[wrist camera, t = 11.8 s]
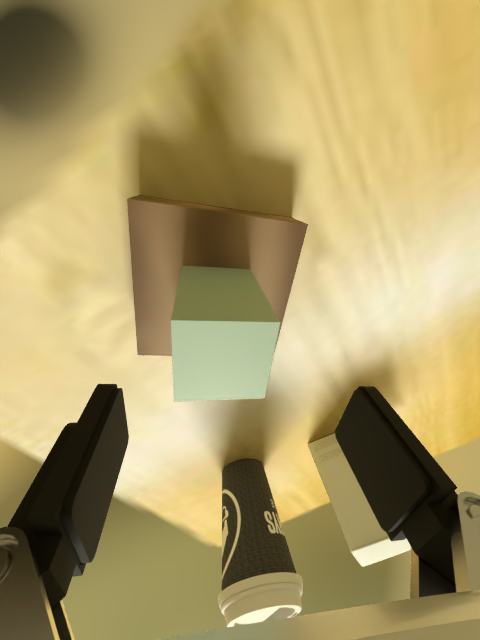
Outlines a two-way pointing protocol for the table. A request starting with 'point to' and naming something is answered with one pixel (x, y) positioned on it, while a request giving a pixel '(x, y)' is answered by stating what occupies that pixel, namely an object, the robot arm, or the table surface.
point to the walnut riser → (203, 257)
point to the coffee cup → (254, 551)
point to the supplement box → (352, 505)
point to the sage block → (221, 335)
